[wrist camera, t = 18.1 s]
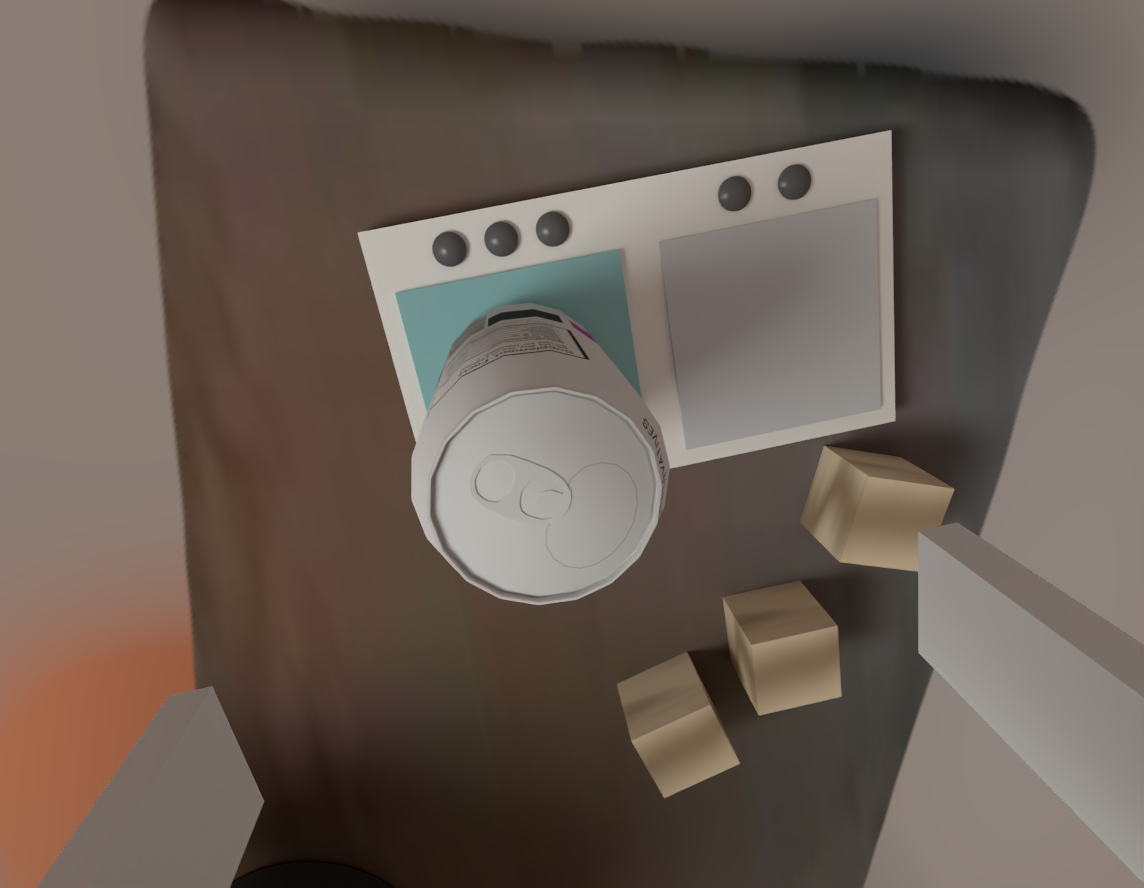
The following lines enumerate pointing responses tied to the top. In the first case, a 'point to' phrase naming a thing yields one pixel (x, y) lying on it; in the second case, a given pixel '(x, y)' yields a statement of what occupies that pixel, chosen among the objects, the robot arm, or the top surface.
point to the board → (680, 291)
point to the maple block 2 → (783, 647)
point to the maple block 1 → (675, 725)
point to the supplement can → (537, 459)
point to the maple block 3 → (873, 507)
